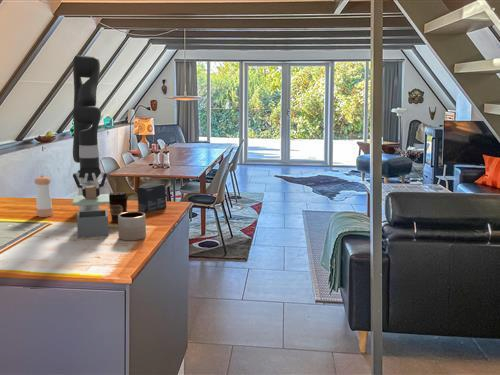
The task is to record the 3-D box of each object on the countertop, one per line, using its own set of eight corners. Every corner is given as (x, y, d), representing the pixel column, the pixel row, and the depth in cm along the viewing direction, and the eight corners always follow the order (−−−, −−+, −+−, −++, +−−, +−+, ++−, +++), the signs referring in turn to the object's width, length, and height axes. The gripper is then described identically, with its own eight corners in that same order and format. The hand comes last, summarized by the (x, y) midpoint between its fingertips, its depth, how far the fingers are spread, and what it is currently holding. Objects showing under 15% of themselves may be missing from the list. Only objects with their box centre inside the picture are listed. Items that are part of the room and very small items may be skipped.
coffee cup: (123, 224, 225) (122, 195, 222) (105, 223, 226) (104, 194, 224) (131, 219, 233) (130, 191, 231) (114, 218, 235) (113, 190, 232)
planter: (121, 233, 210) (120, 211, 208) (147, 233, 211) (146, 211, 209) (116, 241, 199) (115, 218, 197) (144, 241, 200) (143, 217, 198)
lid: (74, 199, 214) (73, 184, 212) (108, 197, 218) (108, 182, 216) (72, 207, 201) (71, 190, 199) (109, 205, 205) (108, 189, 203)
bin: (78, 229, 215) (77, 211, 214) (108, 227, 219) (107, 209, 217) (77, 237, 204) (76, 218, 203) (108, 235, 208) (107, 216, 206)
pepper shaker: (33, 216, 237) (30, 175, 234) (44, 212, 244) (41, 173, 240) (45, 217, 235) (42, 176, 231) (56, 214, 241) (53, 174, 237)
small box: (157, 205, 260) (156, 182, 258) (166, 207, 257) (166, 184, 254) (137, 210, 250) (136, 186, 248) (147, 212, 246) (146, 188, 244)
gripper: (107, 154, 211) (109, 194, 214) (70, 155, 207) (73, 196, 210) (107, 156, 204) (109, 198, 207) (70, 157, 200) (72, 200, 203)
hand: (91, 197), depth 209 cm, fingers closed on lid, 4 cm apart
